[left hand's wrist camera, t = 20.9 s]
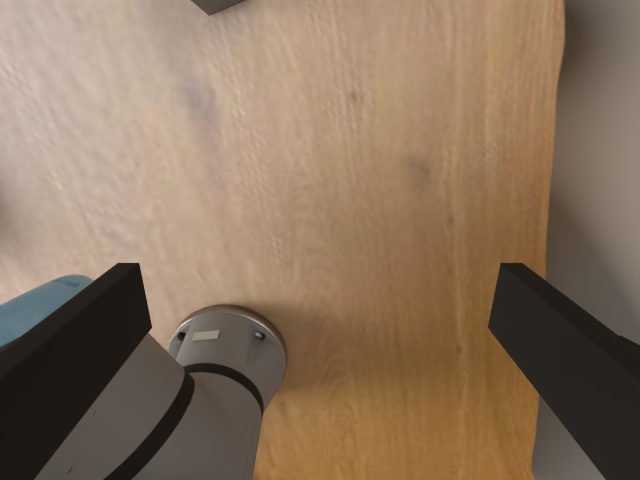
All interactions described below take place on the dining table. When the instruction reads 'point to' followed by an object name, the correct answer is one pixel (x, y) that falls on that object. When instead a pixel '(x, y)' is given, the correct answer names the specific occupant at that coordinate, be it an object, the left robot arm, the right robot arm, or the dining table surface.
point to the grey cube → (214, 5)
